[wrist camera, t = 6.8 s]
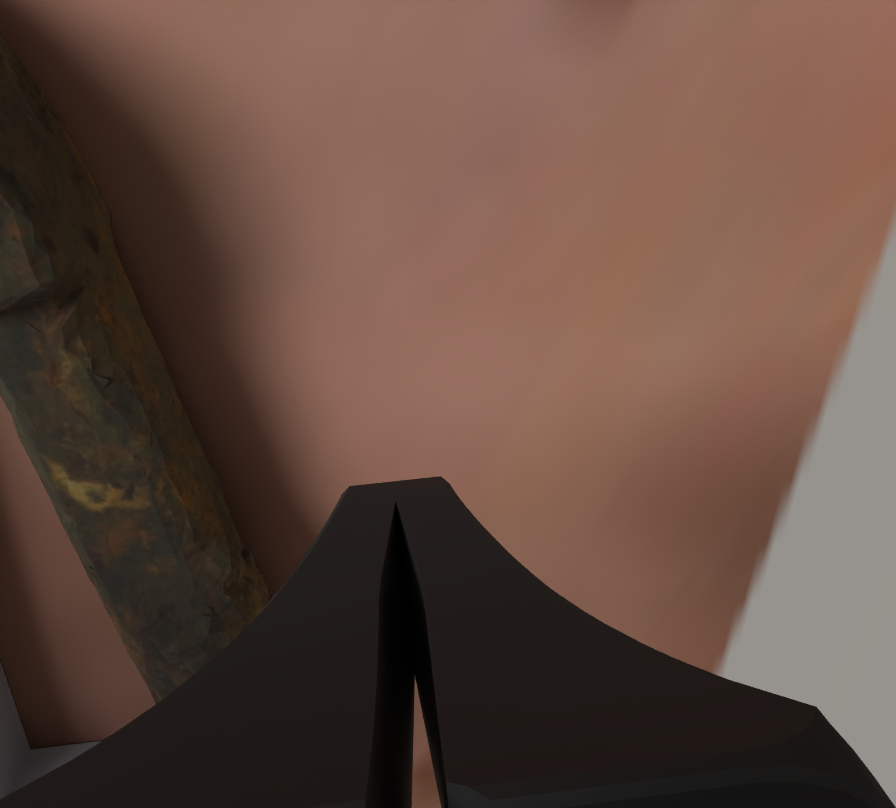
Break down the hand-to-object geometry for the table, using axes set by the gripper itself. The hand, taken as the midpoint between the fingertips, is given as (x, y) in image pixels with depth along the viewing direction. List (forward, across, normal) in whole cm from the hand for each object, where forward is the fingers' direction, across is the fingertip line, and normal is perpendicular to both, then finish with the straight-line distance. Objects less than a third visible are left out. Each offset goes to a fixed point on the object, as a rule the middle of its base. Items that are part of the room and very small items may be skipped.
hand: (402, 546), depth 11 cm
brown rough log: (+10, +7, +1) cm, 12 cm away
